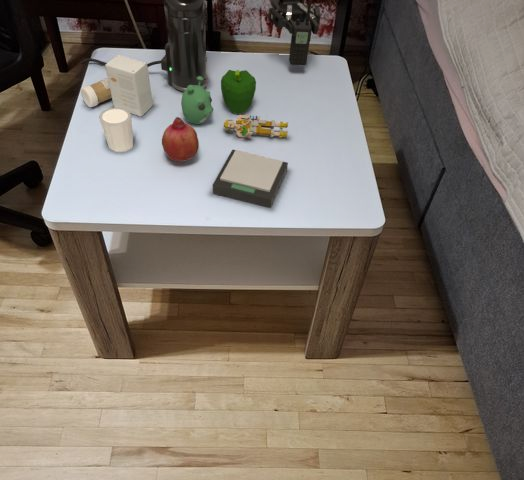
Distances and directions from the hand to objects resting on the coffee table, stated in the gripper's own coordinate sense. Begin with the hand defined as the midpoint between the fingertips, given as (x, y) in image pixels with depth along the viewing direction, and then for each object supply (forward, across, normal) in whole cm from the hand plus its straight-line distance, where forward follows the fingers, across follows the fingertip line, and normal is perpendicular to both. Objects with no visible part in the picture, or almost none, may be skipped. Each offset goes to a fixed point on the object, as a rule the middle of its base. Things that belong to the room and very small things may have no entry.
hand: (305, 30), depth 125 cm
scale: (+39, -24, +12) cm, 47 cm away
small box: (+5, -45, +12) cm, 47 cm away
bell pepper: (+10, -20, +12) cm, 26 cm away
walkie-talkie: (-3, 0, +9) cm, 10 cm away
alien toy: (+14, -31, +12) cm, 36 cm away
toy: (+22, -19, +12) cm, 31 cm away
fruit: (+28, -37, +12) cm, 48 cm away
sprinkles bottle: (-3, -44, +10) cm, 45 cm away
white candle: (+20, -50, +12) cm, 55 cm away
